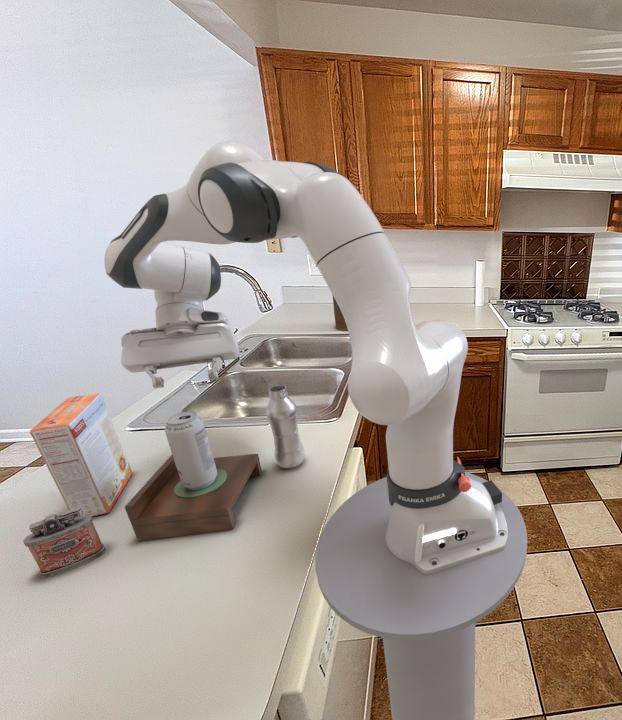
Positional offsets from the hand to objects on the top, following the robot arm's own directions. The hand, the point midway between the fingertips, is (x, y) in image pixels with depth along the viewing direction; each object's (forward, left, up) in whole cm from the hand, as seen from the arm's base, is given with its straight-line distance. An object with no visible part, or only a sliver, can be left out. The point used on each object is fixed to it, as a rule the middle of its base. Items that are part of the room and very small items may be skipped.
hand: (186, 382), depth 82 cm
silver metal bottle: (-16, -2, -24) cm, 29 cm away
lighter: (+14, +21, -24) cm, 35 cm away
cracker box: (+20, +3, -24) cm, 31 cm away
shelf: (-2, +9, -24) cm, 25 cm away
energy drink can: (-2, +9, -19) cm, 21 cm away
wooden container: (-18, -119, -24) cm, 123 cm away
